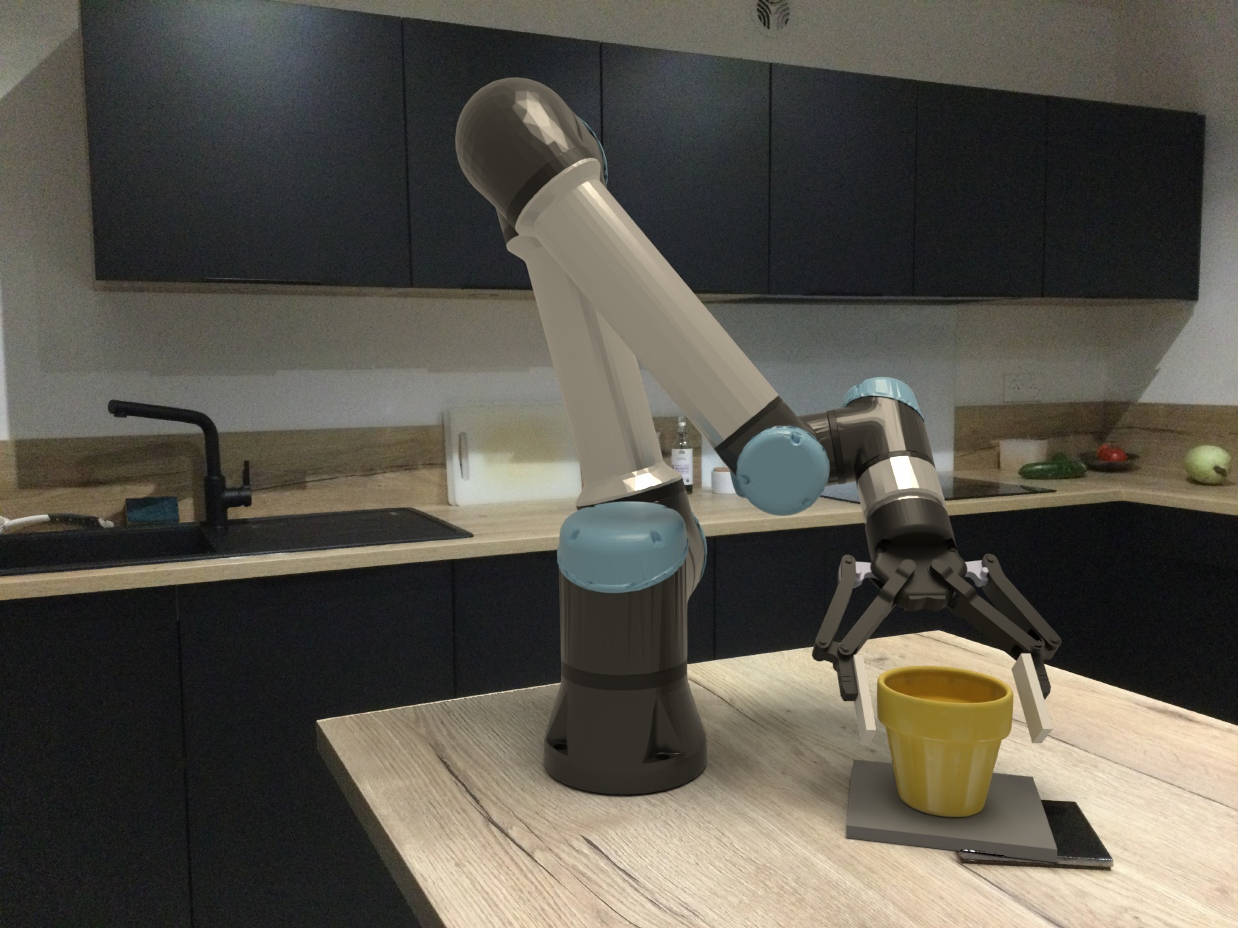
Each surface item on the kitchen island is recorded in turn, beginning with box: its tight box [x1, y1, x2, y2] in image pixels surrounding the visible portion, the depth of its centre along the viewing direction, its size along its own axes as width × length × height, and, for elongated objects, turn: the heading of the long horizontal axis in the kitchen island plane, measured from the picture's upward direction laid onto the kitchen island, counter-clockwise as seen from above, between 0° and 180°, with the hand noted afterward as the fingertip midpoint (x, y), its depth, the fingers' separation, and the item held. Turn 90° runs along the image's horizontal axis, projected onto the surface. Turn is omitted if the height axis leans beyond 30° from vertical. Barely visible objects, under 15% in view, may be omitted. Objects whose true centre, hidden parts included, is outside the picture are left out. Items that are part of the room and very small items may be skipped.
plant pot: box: [876, 665, 1014, 817], centre depth 78 cm, size 10×10×10 cm
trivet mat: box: [845, 758, 1058, 863], centre depth 78 cm, size 15×13×1 cm
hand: (955, 737), depth 76 cm, fingers open, 13 cm apart
